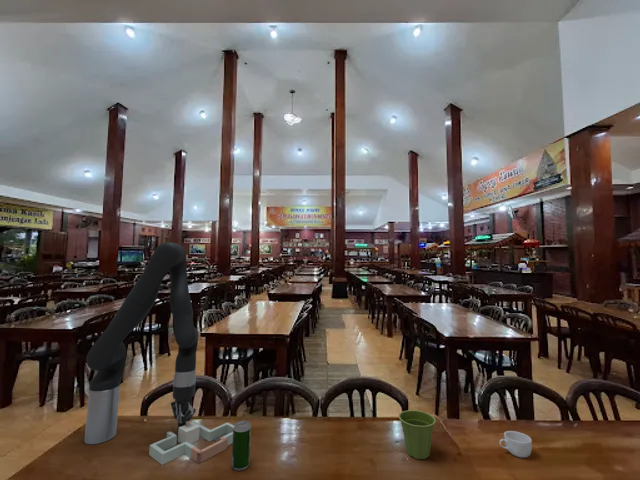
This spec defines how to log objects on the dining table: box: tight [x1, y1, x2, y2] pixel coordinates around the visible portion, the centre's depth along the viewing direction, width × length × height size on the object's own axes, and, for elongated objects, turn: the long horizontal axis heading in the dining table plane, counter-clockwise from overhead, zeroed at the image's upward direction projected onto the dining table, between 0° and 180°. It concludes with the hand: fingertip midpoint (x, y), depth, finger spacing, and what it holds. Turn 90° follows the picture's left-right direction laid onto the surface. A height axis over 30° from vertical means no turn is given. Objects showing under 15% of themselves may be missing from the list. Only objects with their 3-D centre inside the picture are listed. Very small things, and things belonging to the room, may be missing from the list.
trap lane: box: [148, 421, 234, 466], centre depth 104 cm, size 20×25×3 cm
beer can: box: [231, 420, 252, 472], centre depth 94 cm, size 5×5×12 cm
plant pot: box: [398, 409, 437, 460], centre depth 101 cm, size 12×12×11 cm
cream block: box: [177, 421, 200, 444], centre depth 107 cm, size 5×5×4 cm
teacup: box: [498, 430, 533, 459], centre depth 101 cm, size 10×8×5 cm
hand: (181, 432), depth 110 cm, fingers closed
